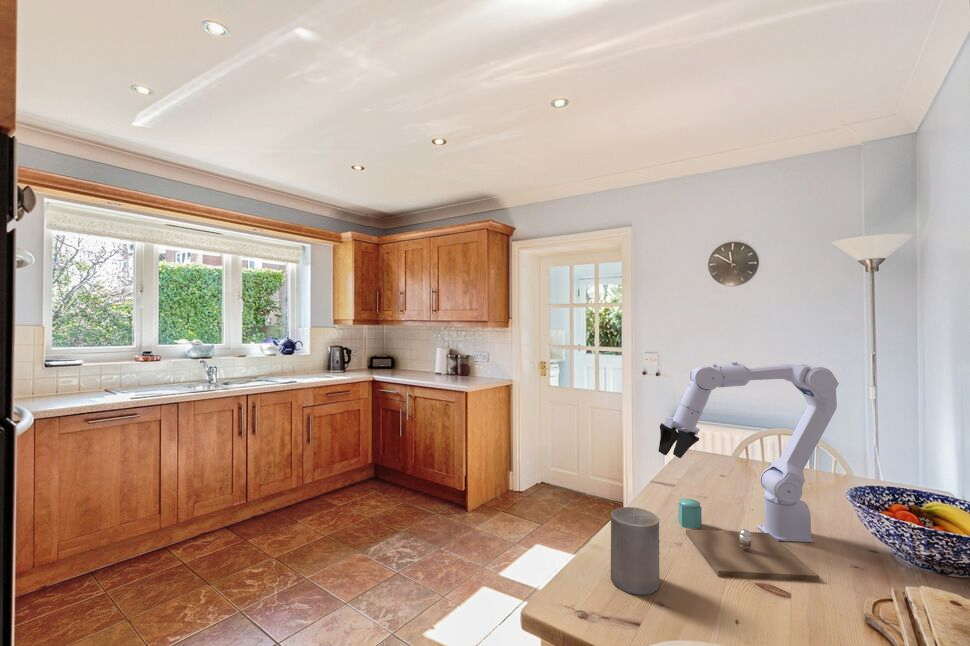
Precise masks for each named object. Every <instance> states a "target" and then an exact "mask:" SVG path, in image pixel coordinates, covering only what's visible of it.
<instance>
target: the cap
mask: <svg viewBox="0 0 970 646" xmlns="http://www.w3.org/2000/svg"><path fill="white" fill-rule="evenodd" d="M677 505H678V506H677V507H678V509H677V511H678V513H677V514H678V517H677V519H678V524H679V525H680V526H681V527H683V528H686V529H690V530H698V529H700V528H703V527H702V525H703V524H702V521H703V520H702V517H703V516H702V506H701V503H700V501H698V500H696V499H692V498H681V499H679V502H678V503H677Z"/></svg>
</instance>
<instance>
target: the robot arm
mask: <svg viewBox="0 0 970 646" xmlns="http://www.w3.org/2000/svg"><path fill="white" fill-rule="evenodd" d="M689 379H690V381H689V384H688V386H687V388H686V389H685V391H684V393H683V396H682V397H681V400H680V402H679V405H678V407H677V409H676V411H675V413H674V416H673V417H672V416H668V418H665V420H664V423H660V425H659V431H660V433H659V434H660V438H659V444H658V453H661V454H662V455H663V456H667V455H668V454H669V453H670V451H671V449H672V448H673V445H674V444H675V446H674V448H673V453H672V454H673V456H675V457H677V458H678V459H681V458H682V457H683V456H684V455H685V454H686V453H687V452H688V450H689V449H690V448H691V447H692V446H694V445H695V444H696V443H697V442H699V441H700V439H701V438H700V437H699V436H698V434H699V432H700V431H701V429H700V428H698V427H697V424H698V422H699V420H700V418H701V416H702V413H703V411H704V410H705V408H706V405H707V403H708V401H709V399H710V398H709V397H710V395H711V393H712V391H713V390H715V389H716V388H732V387H733V388H734V387H742V386H743V387H744V386H747V384H748V383H749V382H750V381H763V380H766V381H767V380H784V381H786V382H791V383H792V385H793V386H794V387H795V388H797V390H798V391H799V392H800V393H801V394H802V395H803V397H804V399H805V401H806V402H807V407H806V408H805V411H803V415H802V416H801V418H800V420H799V422H798V424H797V425H796V427H795V429H794V431H793V433H792V434H791V436H790V438H789V440H788V442H787V444H786V446H785V448H784V450H783V452H782V454H781V455H780V457H779V458H778V459H775V460H774V461H772V462H771V464H770V465H769V467H768V468H766V469H764V470H763V471H762V472H761V474H760V477H759V480H760V481H759V482H760V484H761V486H762V488H763V489H764V494H763V511H764V512H763V513H764V514H763V516H764V517H763V518H764V519H763V521H764V522H763V524H761V525H760V524H757V526H756V527H757V528H758V529H759V530H760V531H761V532H762V533H769V534H771V535H772V536H773V537H774V538H775V539H776V540H778V541H779V542H781V541H782V542H800V543H801V542H803V543H805V542H807V543H813V541H814V540H813V539H812V524H811V523H812V522H811V521H812V519H811V517H812V516H811V511H810V508H809V506H808V503H806V502H805V501H804V500H801V498H802V497H803V485H804V483H805V481H806V478H805V473H804V469H805V468H806V466H807V464H808V463H809V460H810V459H811V456H812V454H813V453H814V450H815V449H816V447H817V445H818V443H819V441H820V440H821V437H822V436H823V435H824V432H825V431H826V429H827V427H828V425H829V423H830V421H831V419H832V418H833V416H834V414H835V412H836V410H837V408H838V404H837V403H838V400H837V388H838V385H839V382H838V380H837V377H835V374H834V373H833V372H832V371H831V370H830V369H828V368H826V367H823V366H812V365H811V366H810V365H808V364H792V363H791V364H790V363H787V364H786V363H785V364H782V363H781V364H775V365H763V366H755V367H747V366H746V365H744V364H743V363H738V361H732V362H730V364H723V365H717V364H716V363H712V364H711V365H710V366H704V365H699V366H696V368H694V369H692V371H690V374H689Z"/></svg>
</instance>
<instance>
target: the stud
mask: <svg viewBox="0 0 970 646" xmlns="http://www.w3.org/2000/svg"><path fill="white" fill-rule="evenodd" d="M738 532H739V544H740V546H741V548H742V549H744V550H749V549H750V548H751V533H750V532H751V531H749V529H746V528H742V529H740V530H739V531H738Z"/></svg>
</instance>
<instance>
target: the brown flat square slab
mask: <svg viewBox="0 0 970 646" xmlns="http://www.w3.org/2000/svg"><path fill="white" fill-rule="evenodd" d="M739 532H740V531H739V530H738V531H737V530H736V531H735V530H730V531H729V530H712V529H711V530H708V529H690V528H686V529H685V535H686V537H687V538H688V539H689V540H690V542H691V543H692V544H693V546H694V547H695V548H696V549H697V550H698V552H699V553H700V555H701V556H702V557H703V558H704V560H705V562H707V564H708V565H709V566H710V568H711V569H712V570H713V571H714V573H715V574H716V576H717V577H725V578H741V579H742V578H745V579H746V578H747V579H763V580H782V581H784V580H785V581H799V582H800V581H803V582H804V581H805V582H820V575H819V574H818V573H816V572H815V571H814V570H813V569H812V568H811V567H809V565H807V564H806V563H805V562H803V560H801V559H800V558H799V557H798V556H797V555H795V554H794V553H793V552H792V551H791V550H789V549H788V548H787V547H786V546H785V545H784V544H783V543H781V541H778V540H776V539H775V538H774V537H773V536H772V535H771V534H769V533H764V532H763V531H761V532H759V531H749V532H750V533H751V548H750V549H749V550H744V549H742V548H741V546H740V544H739Z"/></svg>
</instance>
